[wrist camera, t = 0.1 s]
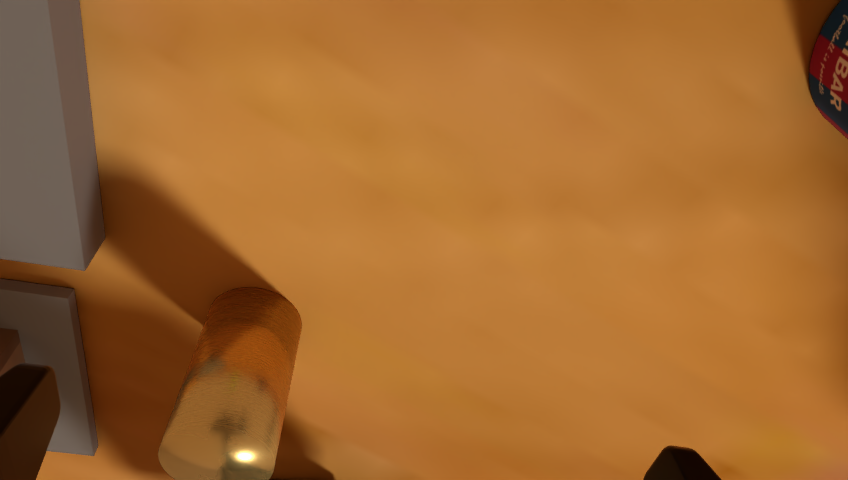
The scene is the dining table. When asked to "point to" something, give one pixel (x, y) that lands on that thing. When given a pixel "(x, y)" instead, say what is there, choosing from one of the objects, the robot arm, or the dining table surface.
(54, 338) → the board
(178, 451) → the pin
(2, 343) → the box
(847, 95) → the mug
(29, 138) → the socket board
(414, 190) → the dining table surface
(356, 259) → the dining table surface
